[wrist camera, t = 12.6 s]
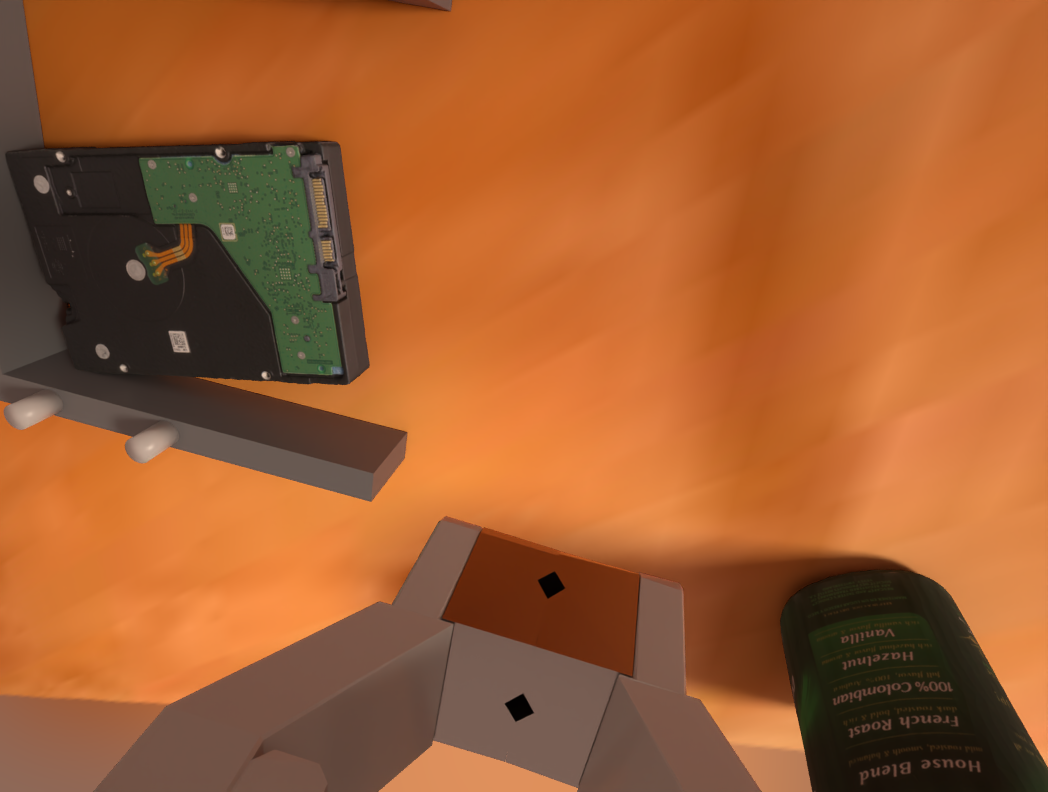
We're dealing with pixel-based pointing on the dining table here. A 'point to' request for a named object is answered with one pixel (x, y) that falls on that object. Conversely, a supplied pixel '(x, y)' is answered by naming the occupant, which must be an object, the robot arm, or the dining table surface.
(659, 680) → the robot arm
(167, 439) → the bracket
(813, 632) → the coffee jar
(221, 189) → the disk drive
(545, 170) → the dining table surface
